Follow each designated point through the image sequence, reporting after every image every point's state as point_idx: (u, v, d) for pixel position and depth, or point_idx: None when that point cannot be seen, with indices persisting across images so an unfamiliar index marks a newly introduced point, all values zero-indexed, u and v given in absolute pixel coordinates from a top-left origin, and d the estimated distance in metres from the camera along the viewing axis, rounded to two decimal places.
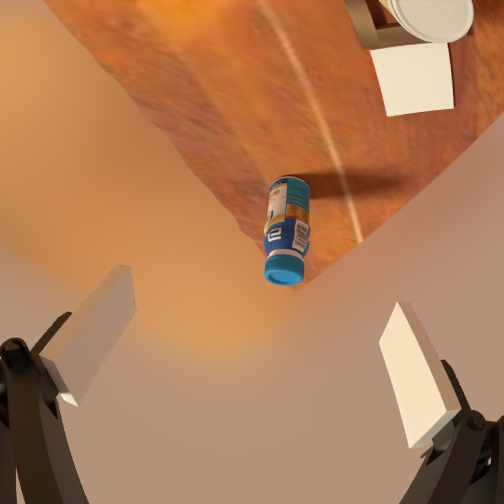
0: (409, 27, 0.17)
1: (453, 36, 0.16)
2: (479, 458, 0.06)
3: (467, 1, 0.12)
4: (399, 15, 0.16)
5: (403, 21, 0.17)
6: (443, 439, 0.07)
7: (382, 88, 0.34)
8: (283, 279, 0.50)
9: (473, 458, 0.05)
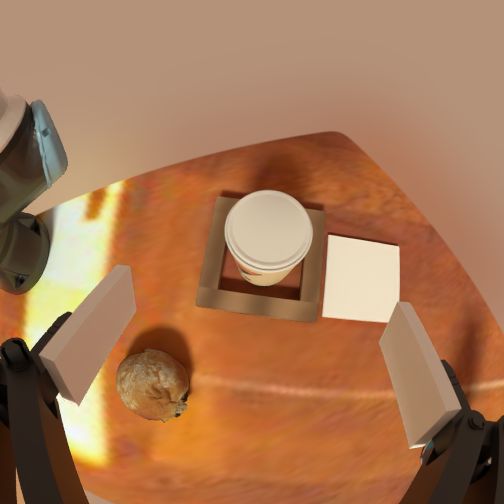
0: (288, 262, 0.29)
1: (305, 220, 0.30)
2: (478, 458, 0.06)
3: (269, 194, 0.31)
4: (273, 266, 0.28)
5: (280, 265, 0.28)
6: (443, 439, 0.07)
7: (366, 318, 0.38)
8: None
9: (473, 458, 0.05)
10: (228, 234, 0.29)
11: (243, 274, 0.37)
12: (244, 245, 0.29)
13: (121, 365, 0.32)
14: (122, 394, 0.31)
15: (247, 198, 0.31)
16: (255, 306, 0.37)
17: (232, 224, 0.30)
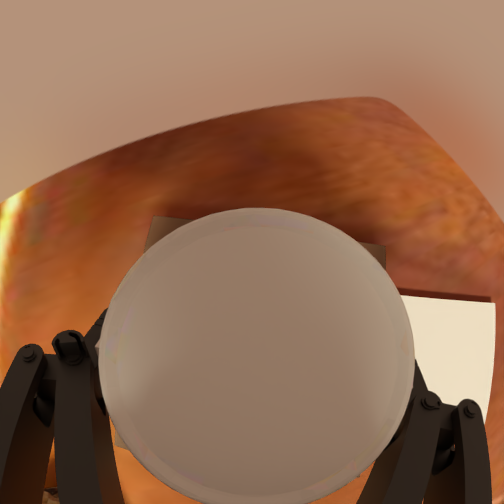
0: (326, 492, 0.05)
1: (396, 332, 0.07)
2: (439, 443, 0.07)
3: (261, 225, 0.08)
4: None
5: None
6: None
7: None
8: None
9: (432, 440, 0.06)
10: (103, 391, 0.06)
11: None
12: (161, 438, 0.06)
13: None
14: None
15: (173, 245, 0.08)
16: None
17: (115, 353, 0.07)
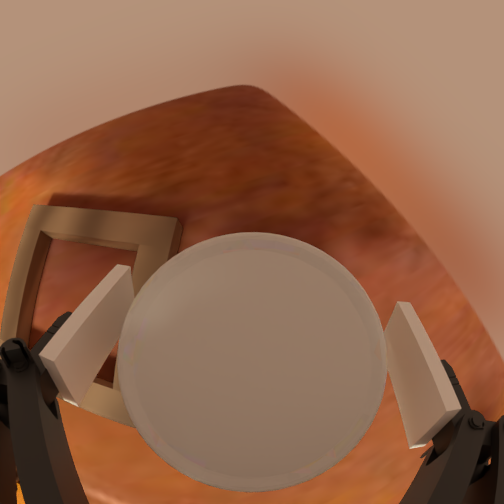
0: (310, 476, 0.07)
1: (371, 339, 0.08)
2: (478, 458, 0.06)
3: (255, 248, 0.09)
4: (263, 490, 0.07)
5: (285, 486, 0.07)
6: (443, 439, 0.07)
7: None
8: None
9: (473, 458, 0.05)
10: (121, 389, 0.08)
11: None
12: (171, 427, 0.08)
13: None
14: None
15: (180, 265, 0.09)
16: None
17: (132, 357, 0.08)
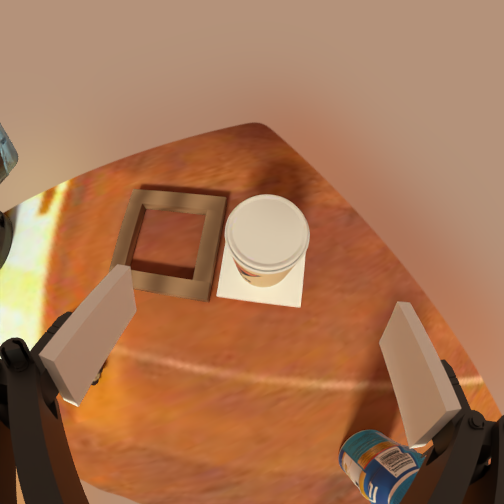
0: (286, 263, 0.30)
1: (302, 223, 0.31)
2: (478, 458, 0.06)
3: (268, 198, 0.32)
4: (271, 268, 0.30)
5: (278, 266, 0.30)
6: (443, 439, 0.07)
7: (263, 300, 0.41)
8: None
9: (473, 458, 0.05)
10: (228, 237, 0.31)
11: (243, 276, 0.38)
12: (243, 247, 0.30)
13: None
14: None
15: (246, 202, 0.32)
16: (153, 283, 0.40)
17: (232, 227, 0.31)
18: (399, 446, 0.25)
